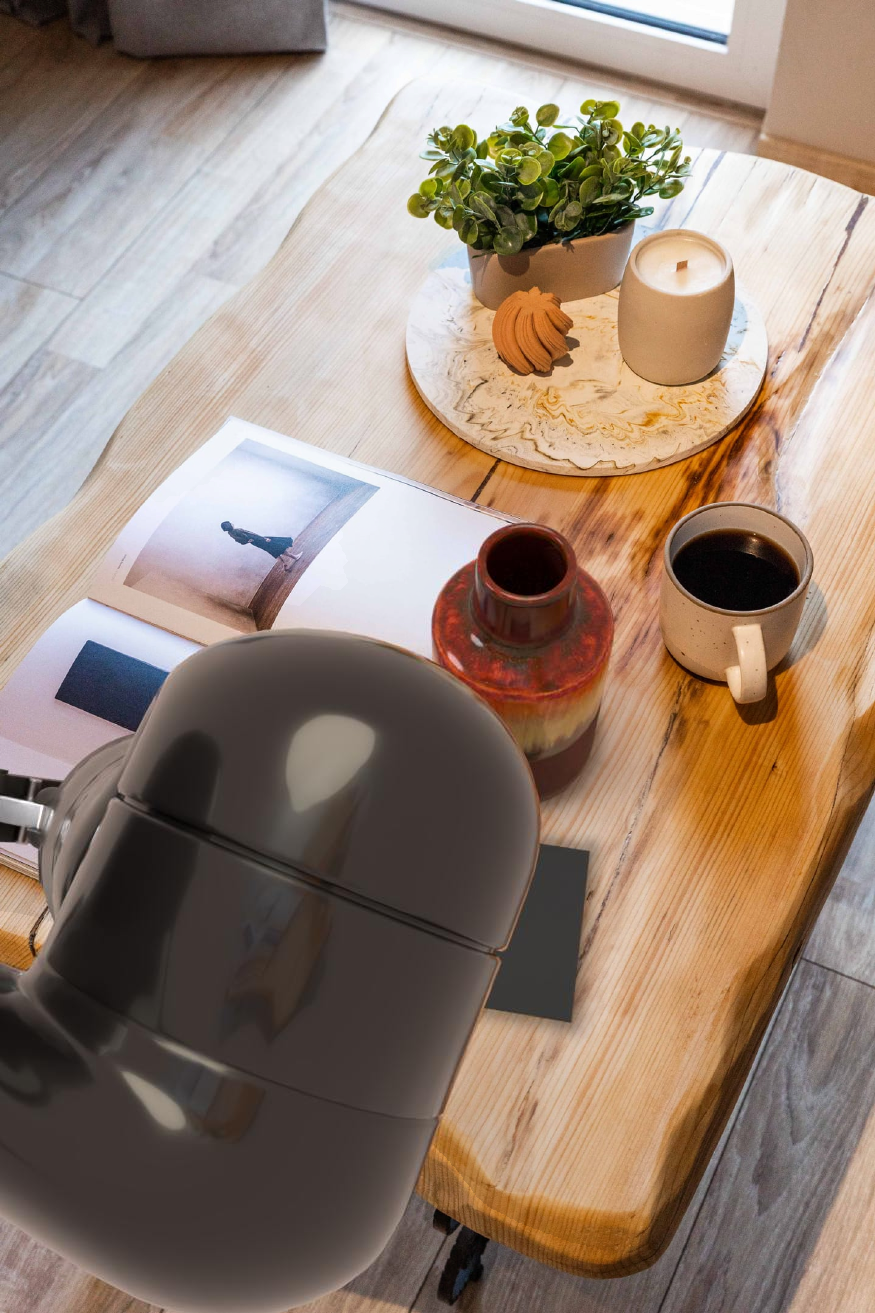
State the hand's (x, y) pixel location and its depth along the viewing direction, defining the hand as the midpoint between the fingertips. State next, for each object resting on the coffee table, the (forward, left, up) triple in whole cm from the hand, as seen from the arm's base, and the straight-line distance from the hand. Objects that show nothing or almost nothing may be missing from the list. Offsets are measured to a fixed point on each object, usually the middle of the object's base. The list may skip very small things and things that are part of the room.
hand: (130, 815), depth 50 cm
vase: (+16, +18, -23) cm, 33 cm away
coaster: (+16, +5, -23) cm, 28 cm away
